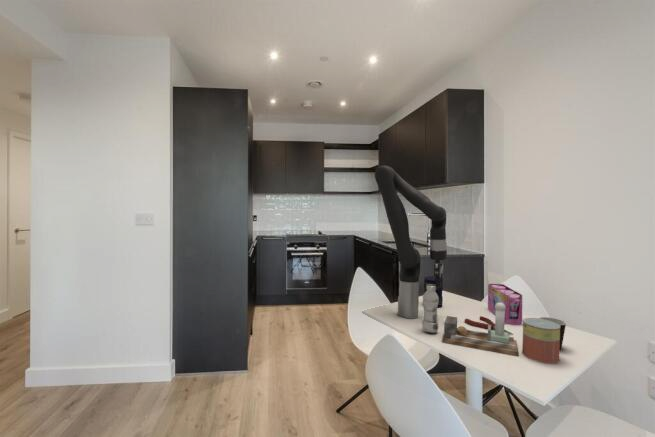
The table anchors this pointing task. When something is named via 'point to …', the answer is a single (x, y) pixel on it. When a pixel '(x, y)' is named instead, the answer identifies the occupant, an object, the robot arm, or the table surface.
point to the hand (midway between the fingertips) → (438, 283)
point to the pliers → (483, 324)
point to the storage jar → (438, 288)
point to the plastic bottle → (430, 309)
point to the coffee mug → (560, 328)
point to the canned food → (541, 340)
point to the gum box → (506, 302)
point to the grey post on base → (498, 326)
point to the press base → (475, 339)
